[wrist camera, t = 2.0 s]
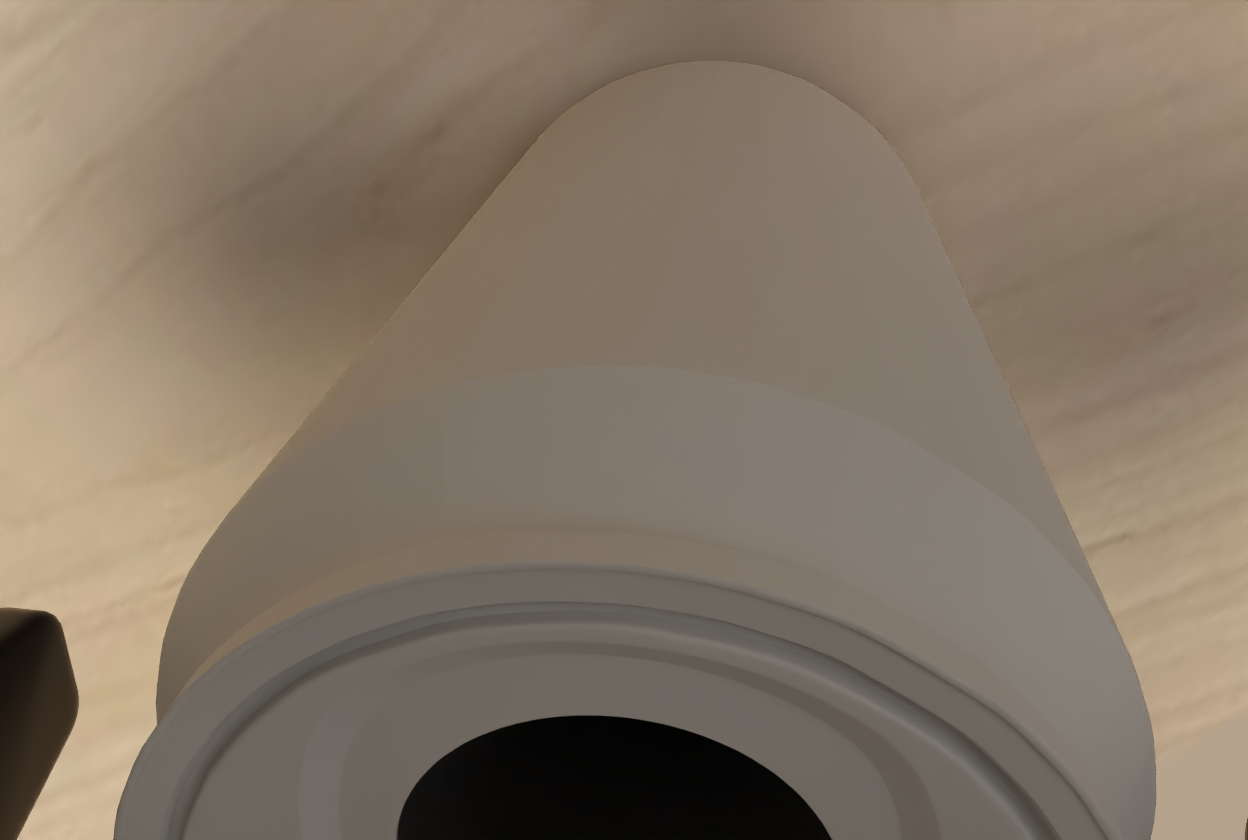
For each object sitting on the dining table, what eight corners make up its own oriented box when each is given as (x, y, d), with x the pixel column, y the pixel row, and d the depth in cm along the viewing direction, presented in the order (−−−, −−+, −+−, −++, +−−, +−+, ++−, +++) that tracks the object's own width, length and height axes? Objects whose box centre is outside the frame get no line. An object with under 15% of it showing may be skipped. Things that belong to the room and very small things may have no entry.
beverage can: (961, 60, 15) (1455, 559, 4) (896, 476, 18) (1088, 1394, 7) (494, 40, 15) (-116, 433, 5) (505, 445, 18) (141, 1253, 8)
